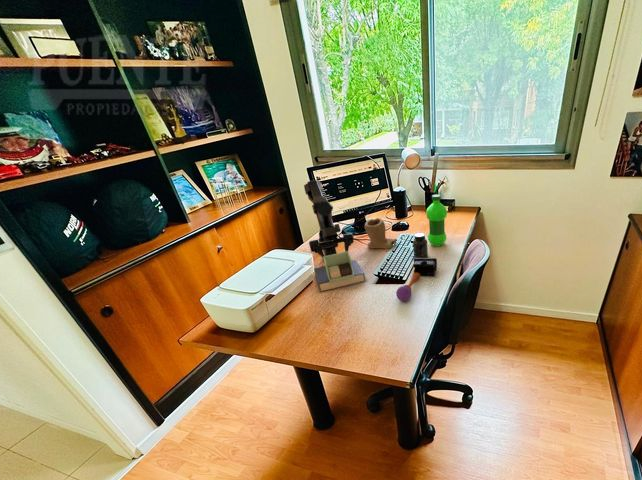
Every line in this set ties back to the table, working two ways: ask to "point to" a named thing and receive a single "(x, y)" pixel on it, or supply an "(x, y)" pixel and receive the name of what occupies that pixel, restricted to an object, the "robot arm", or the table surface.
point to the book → (326, 285)
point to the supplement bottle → (420, 246)
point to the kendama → (407, 288)
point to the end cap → (425, 266)
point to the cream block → (334, 272)
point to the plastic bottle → (436, 221)
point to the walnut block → (345, 269)
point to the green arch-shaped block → (337, 260)
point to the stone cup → (378, 234)
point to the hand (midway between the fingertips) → (336, 260)
